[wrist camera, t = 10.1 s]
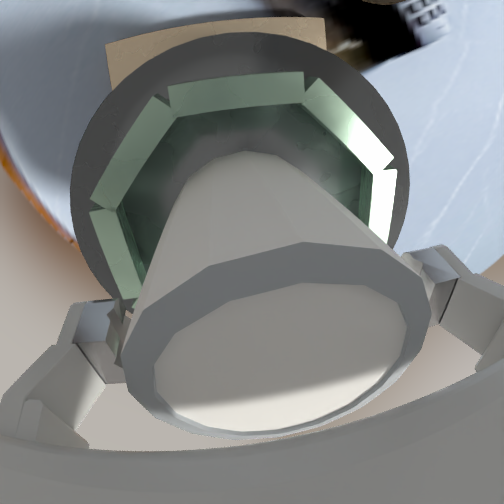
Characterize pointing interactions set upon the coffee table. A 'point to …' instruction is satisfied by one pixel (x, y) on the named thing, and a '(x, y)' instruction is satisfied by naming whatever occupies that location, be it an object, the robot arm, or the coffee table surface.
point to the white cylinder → (268, 307)
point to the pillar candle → (384, 1)
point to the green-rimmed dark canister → (226, 133)
